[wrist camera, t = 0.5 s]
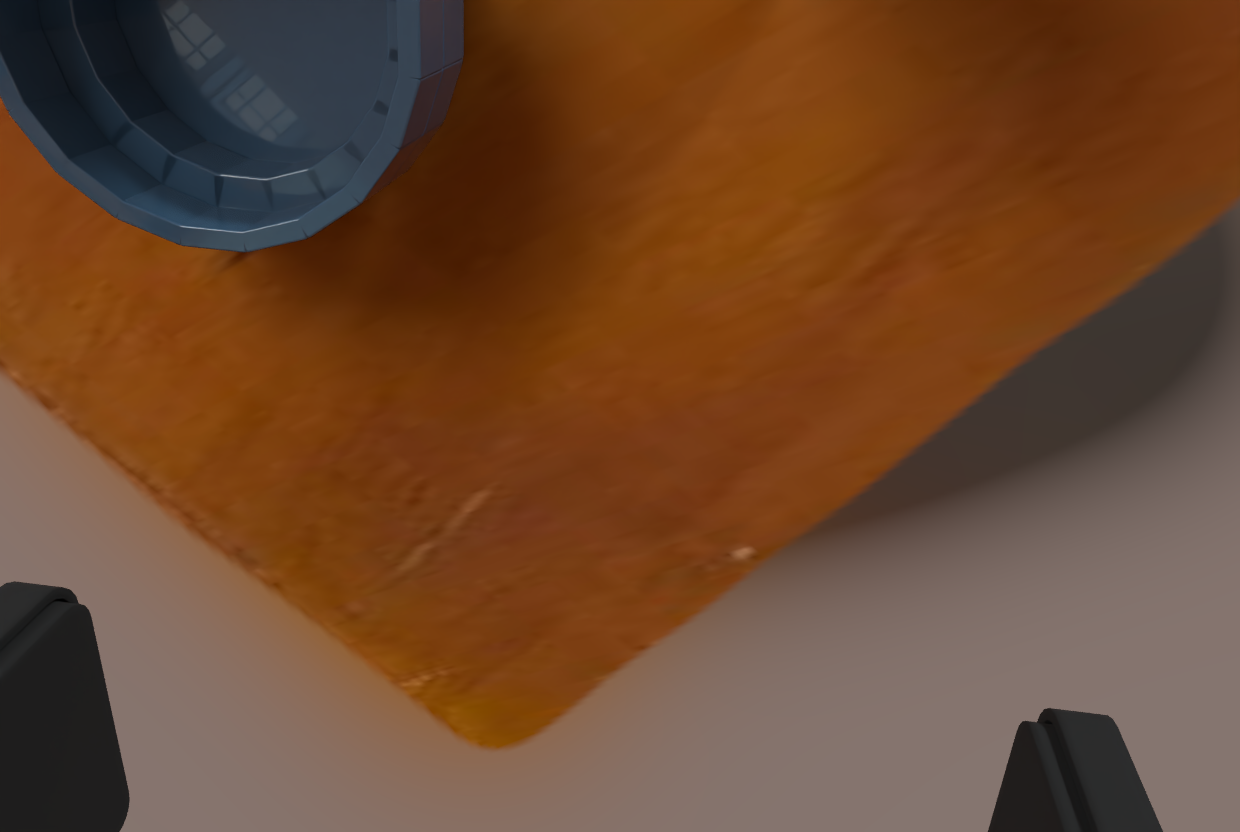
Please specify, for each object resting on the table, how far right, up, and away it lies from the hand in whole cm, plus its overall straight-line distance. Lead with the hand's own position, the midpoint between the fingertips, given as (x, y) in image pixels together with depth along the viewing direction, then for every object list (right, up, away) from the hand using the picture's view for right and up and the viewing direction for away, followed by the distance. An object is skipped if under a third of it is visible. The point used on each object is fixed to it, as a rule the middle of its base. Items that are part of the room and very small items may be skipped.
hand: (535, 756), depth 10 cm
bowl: (-11, +17, +25) cm, 32 cm away
